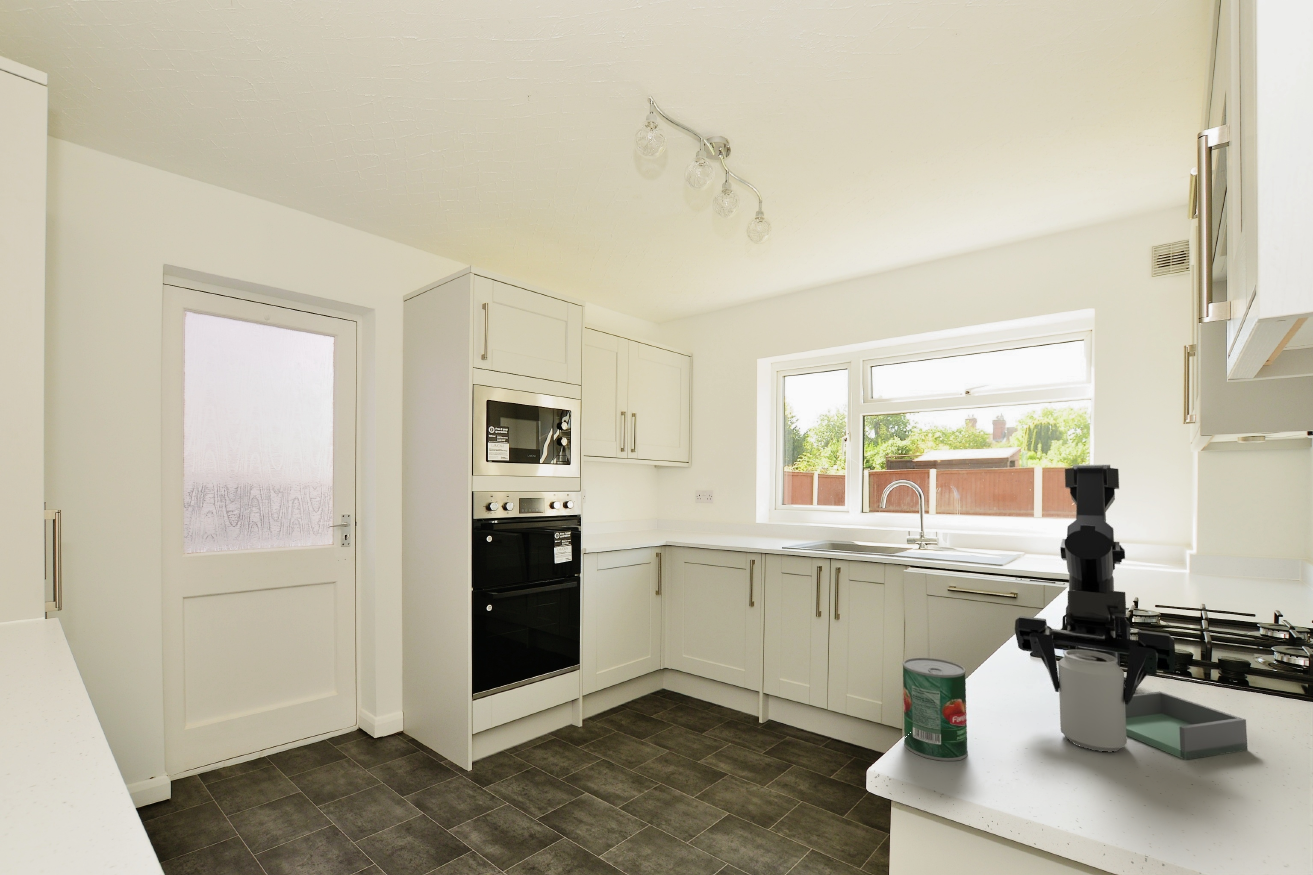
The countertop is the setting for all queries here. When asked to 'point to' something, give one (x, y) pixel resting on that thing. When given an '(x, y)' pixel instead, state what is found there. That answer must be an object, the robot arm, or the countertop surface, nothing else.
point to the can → (1092, 700)
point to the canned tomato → (935, 708)
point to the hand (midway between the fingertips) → (1090, 696)
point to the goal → (1183, 726)
